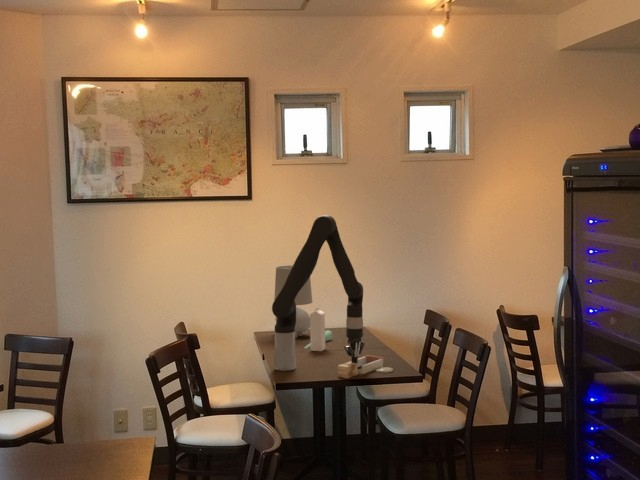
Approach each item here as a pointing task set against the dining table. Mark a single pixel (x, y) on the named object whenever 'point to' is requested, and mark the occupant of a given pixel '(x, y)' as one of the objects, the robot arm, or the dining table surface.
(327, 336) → the long green cone
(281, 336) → the robot arm
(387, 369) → the coaster
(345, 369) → the block
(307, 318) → the table lamp
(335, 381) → the dining table surface
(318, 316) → the milk
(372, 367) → the channel
